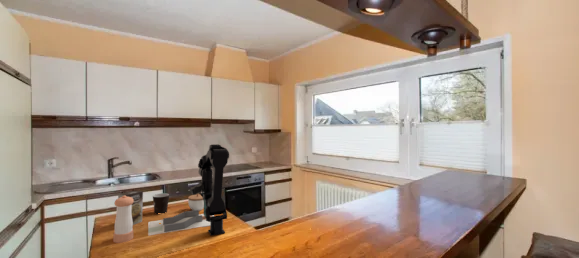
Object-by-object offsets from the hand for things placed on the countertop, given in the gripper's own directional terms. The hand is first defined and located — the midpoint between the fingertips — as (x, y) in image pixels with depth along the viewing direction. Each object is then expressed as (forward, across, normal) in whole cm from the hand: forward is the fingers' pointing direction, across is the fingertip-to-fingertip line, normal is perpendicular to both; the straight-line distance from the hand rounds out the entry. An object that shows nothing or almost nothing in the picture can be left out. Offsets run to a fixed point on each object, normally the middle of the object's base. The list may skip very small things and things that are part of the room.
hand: (206, 207), depth 137 cm
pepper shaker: (+6, +11, -37) cm, 39 cm away
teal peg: (+4, 0, +1) cm, 4 cm away
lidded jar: (+6, -18, -2) cm, 19 cm away
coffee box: (+6, -8, -36) cm, 37 cm away
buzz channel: (+6, +3, -12) cm, 14 cm away
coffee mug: (+6, -20, -22) cm, 30 cm away
